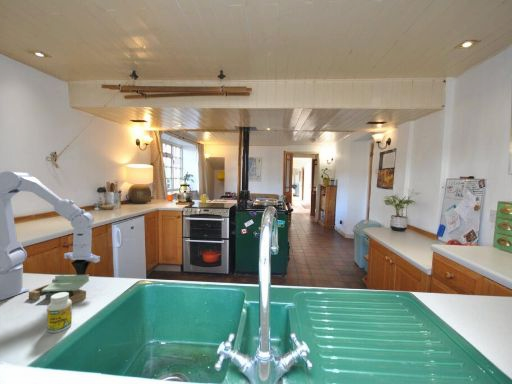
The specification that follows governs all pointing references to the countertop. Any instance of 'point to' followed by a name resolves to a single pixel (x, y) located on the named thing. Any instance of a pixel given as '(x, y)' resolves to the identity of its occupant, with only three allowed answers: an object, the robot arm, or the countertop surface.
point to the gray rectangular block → (50, 293)
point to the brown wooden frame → (75, 298)
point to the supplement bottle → (59, 312)
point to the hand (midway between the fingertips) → (81, 278)
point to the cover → (67, 283)
